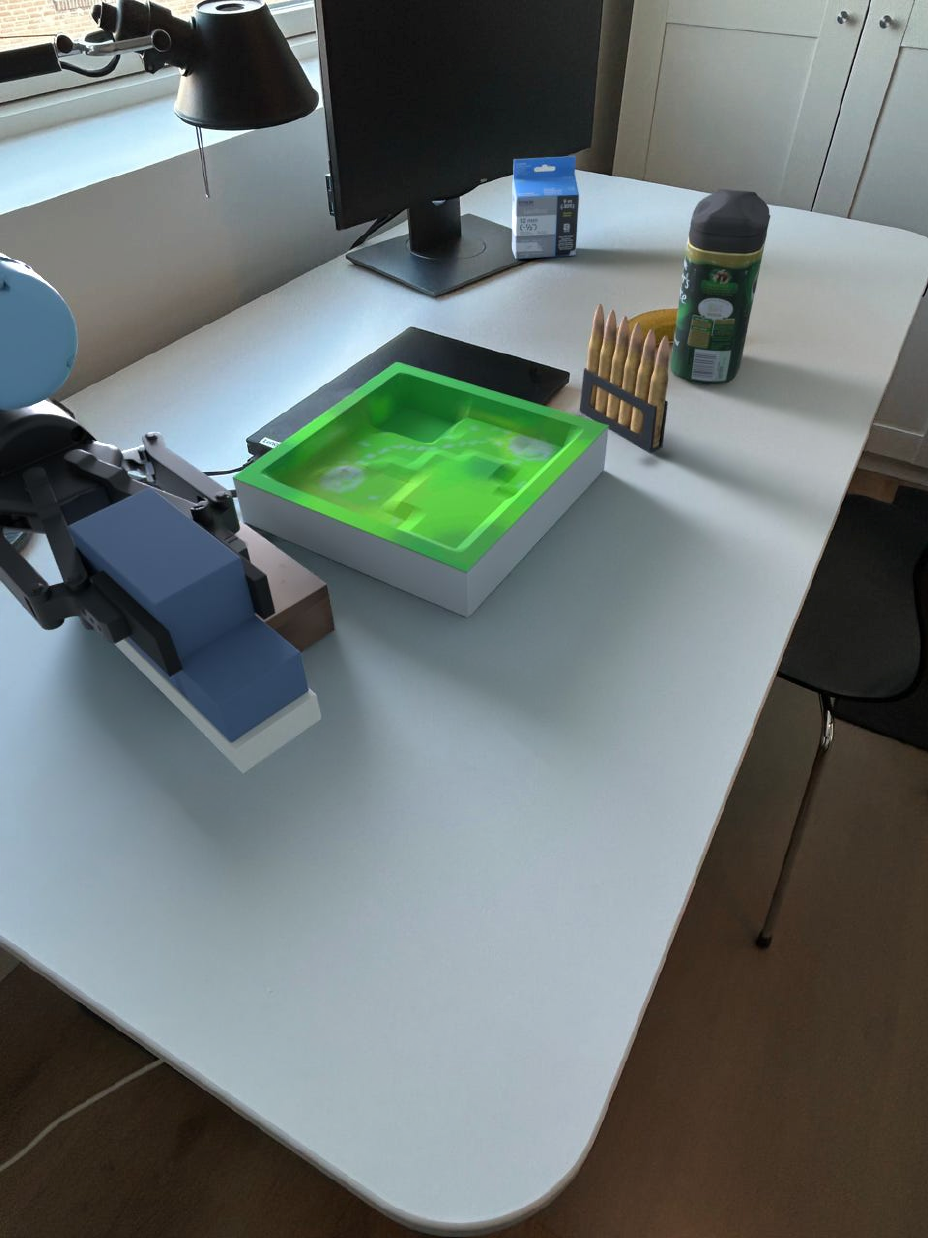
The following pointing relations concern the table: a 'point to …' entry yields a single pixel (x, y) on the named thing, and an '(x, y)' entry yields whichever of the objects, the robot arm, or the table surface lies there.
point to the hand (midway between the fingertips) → (218, 624)
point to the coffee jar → (718, 285)
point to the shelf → (291, 593)
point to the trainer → (201, 626)
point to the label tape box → (544, 208)
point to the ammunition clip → (626, 381)
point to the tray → (425, 483)
